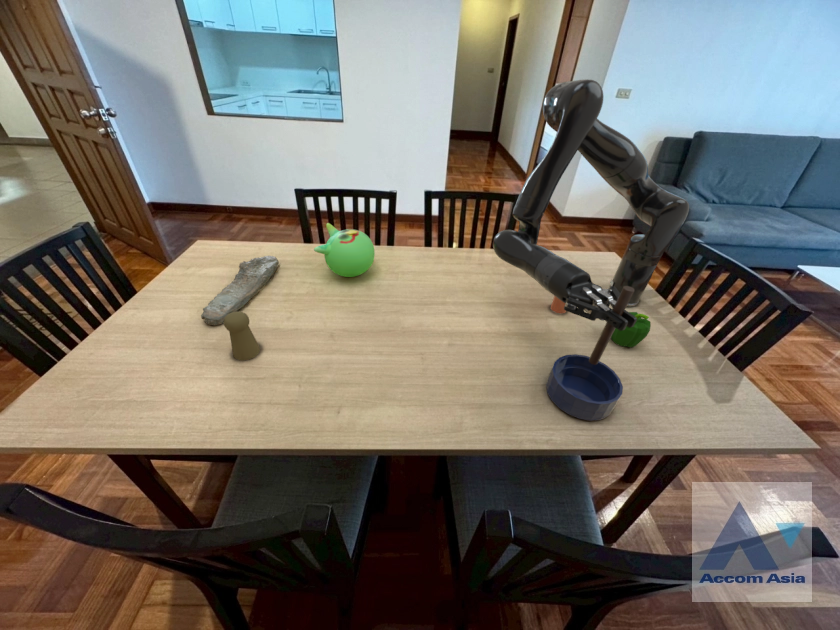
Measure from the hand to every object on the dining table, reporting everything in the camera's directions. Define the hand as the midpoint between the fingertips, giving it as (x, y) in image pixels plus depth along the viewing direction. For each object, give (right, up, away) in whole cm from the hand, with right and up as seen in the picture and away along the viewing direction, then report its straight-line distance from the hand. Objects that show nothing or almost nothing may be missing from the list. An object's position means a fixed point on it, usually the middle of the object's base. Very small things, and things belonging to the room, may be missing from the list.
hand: (629, 324), depth 64 cm
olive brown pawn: (-80, -7, +22) cm, 83 cm away
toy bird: (-61, +16, +54) cm, 84 cm away
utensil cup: (+4, +3, +42) cm, 42 cm away
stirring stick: (-2, -8, +9) cm, 12 cm away
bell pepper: (+17, -6, +32) cm, 36 cm away
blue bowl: (-2, -16, +16) cm, 23 cm away
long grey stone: (-90, +9, +42) cm, 100 cm away
